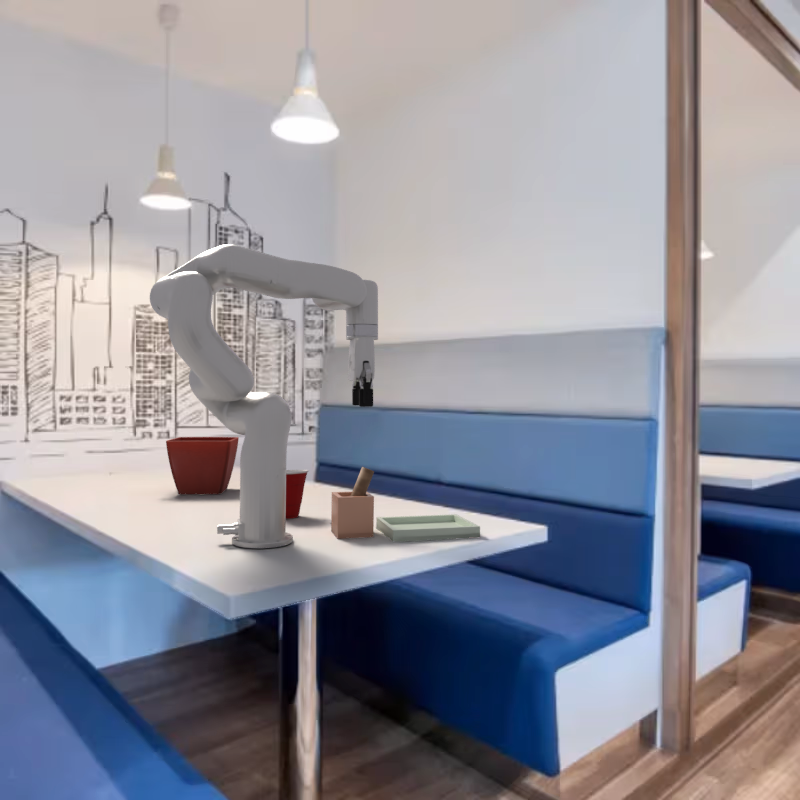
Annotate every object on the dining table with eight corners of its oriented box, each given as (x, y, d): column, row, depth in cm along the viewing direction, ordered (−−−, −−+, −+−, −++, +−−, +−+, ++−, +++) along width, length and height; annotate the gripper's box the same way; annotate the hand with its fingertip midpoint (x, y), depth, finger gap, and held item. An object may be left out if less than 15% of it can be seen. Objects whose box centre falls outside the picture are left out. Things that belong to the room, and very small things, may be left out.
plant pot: (178, 487, 215) (179, 436, 215) (238, 487, 217) (239, 436, 217) (164, 497, 196) (164, 440, 196) (230, 496, 198) (230, 440, 198)
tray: (392, 542, 141) (393, 530, 141) (376, 527, 156) (376, 517, 156) (479, 537, 147) (480, 526, 147) (455, 524, 161) (456, 514, 161)
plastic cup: (290, 511, 176) (290, 466, 176) (316, 516, 169) (317, 469, 168) (256, 516, 168) (256, 469, 168) (282, 522, 161) (283, 473, 160)
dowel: (340, 531, 146) (342, 467, 146) (337, 528, 149) (340, 465, 149) (373, 530, 148) (375, 467, 148) (370, 527, 151) (372, 466, 151)
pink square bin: (337, 538, 143) (338, 497, 143) (331, 531, 151) (331, 492, 151) (373, 537, 146) (373, 496, 146) (365, 529, 153) (365, 491, 153)
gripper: (341, 335, 163) (341, 405, 163) (352, 330, 146) (352, 407, 147) (371, 336, 165) (371, 404, 165) (385, 330, 148) (385, 407, 148)
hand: (362, 405), depth 156 cm, fingers open, 9 cm apart
